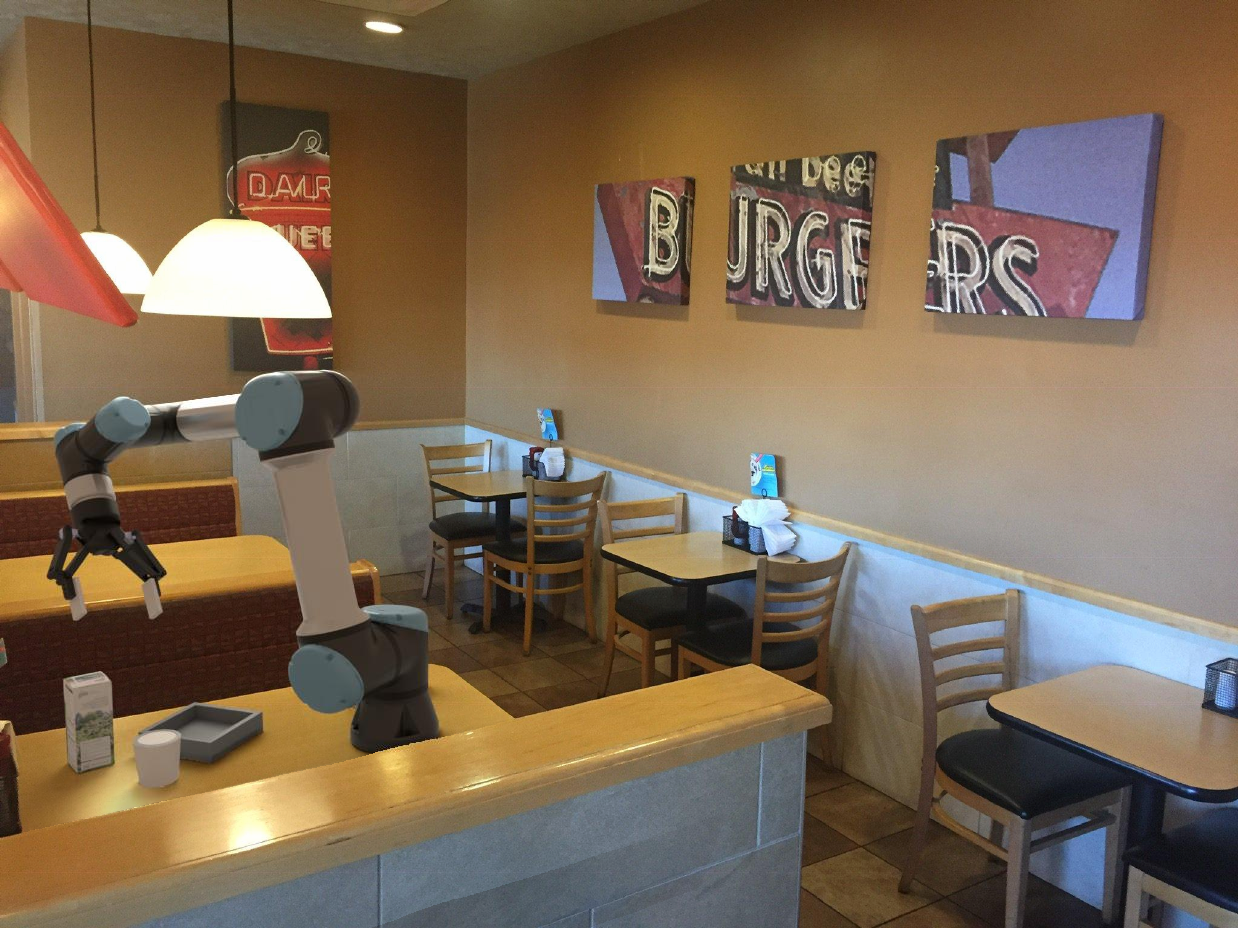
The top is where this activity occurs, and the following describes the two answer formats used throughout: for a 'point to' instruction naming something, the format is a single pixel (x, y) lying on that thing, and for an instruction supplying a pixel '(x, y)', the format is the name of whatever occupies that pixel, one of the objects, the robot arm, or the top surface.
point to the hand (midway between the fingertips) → (119, 616)
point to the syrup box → (89, 721)
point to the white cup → (157, 757)
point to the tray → (210, 729)
